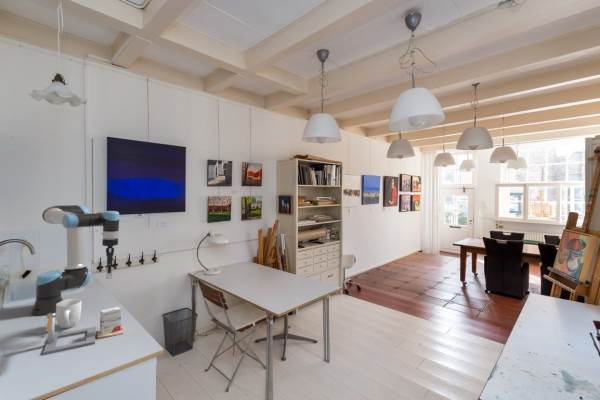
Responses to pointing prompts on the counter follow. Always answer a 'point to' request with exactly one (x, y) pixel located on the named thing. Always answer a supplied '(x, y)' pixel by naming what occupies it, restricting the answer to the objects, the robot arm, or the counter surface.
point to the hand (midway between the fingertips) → (109, 275)
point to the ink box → (110, 320)
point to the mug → (68, 312)
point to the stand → (54, 337)
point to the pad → (109, 333)
